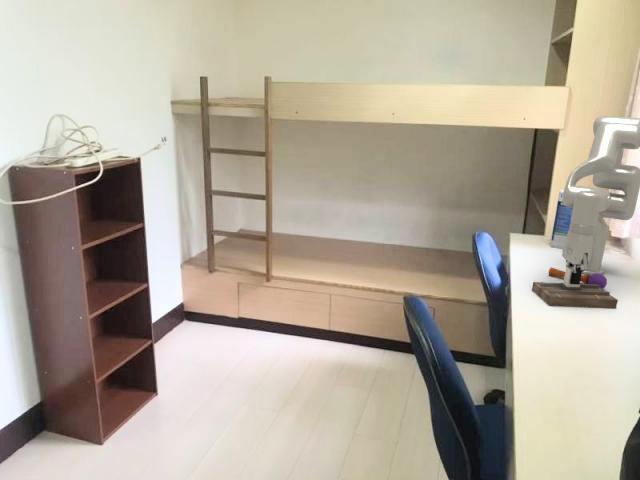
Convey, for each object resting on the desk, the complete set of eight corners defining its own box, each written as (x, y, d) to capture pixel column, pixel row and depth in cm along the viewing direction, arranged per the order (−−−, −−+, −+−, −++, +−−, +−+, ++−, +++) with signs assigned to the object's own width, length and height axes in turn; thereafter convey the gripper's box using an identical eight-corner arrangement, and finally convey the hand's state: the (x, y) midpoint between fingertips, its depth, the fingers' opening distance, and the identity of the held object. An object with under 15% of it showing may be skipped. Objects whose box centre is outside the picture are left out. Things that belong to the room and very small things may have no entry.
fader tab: (559, 287, 178) (563, 265, 175) (574, 287, 178) (578, 266, 176) (566, 291, 173) (570, 270, 171) (580, 292, 173) (585, 270, 171)
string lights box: (581, 247, 240) (592, 192, 233) (581, 252, 233) (593, 195, 226) (550, 243, 245) (559, 189, 238) (549, 247, 238) (559, 191, 231)
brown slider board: (531, 290, 183) (533, 278, 182) (593, 292, 184) (595, 281, 182) (549, 305, 169) (551, 293, 168) (615, 308, 170) (618, 296, 169)
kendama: (555, 264, 201) (610, 275, 186) (552, 279, 202) (607, 291, 187) (548, 263, 197) (604, 275, 182) (545, 279, 198) (601, 291, 183)
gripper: (559, 222, 177) (550, 273, 183) (583, 235, 162) (572, 290, 167) (581, 223, 178) (571, 274, 183) (607, 236, 162) (595, 291, 167)
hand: (571, 281), depth 175 cm, fingers closed on fader tab, 3 cm apart
